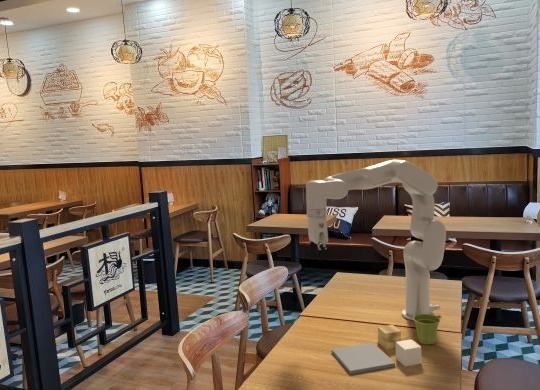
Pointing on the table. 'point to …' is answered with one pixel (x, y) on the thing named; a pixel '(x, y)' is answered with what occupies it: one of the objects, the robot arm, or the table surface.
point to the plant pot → (426, 328)
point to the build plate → (362, 358)
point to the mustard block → (388, 336)
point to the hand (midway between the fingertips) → (317, 256)
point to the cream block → (408, 352)
